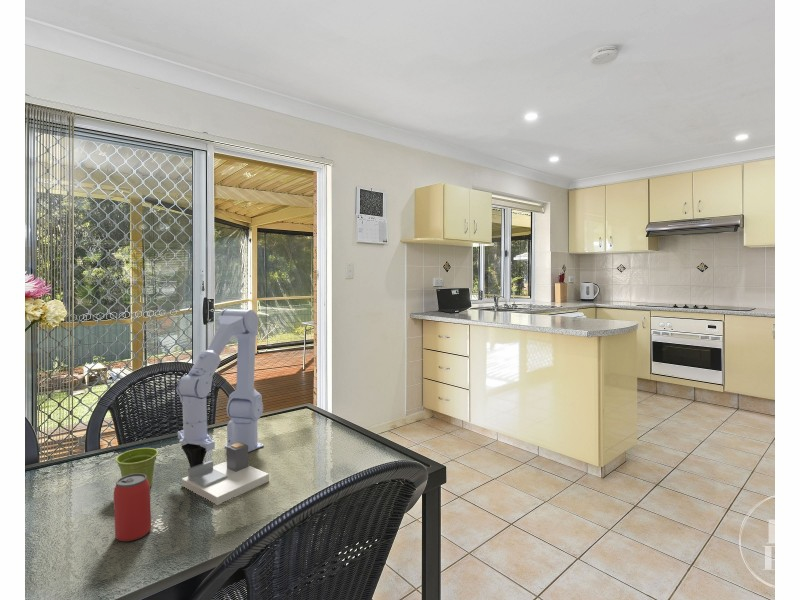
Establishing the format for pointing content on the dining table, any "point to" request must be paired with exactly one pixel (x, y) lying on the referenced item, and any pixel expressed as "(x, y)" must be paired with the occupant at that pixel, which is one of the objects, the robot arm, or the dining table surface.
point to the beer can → (132, 507)
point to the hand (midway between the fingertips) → (196, 470)
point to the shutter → (205, 474)
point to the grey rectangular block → (237, 456)
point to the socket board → (228, 483)
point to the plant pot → (138, 462)
